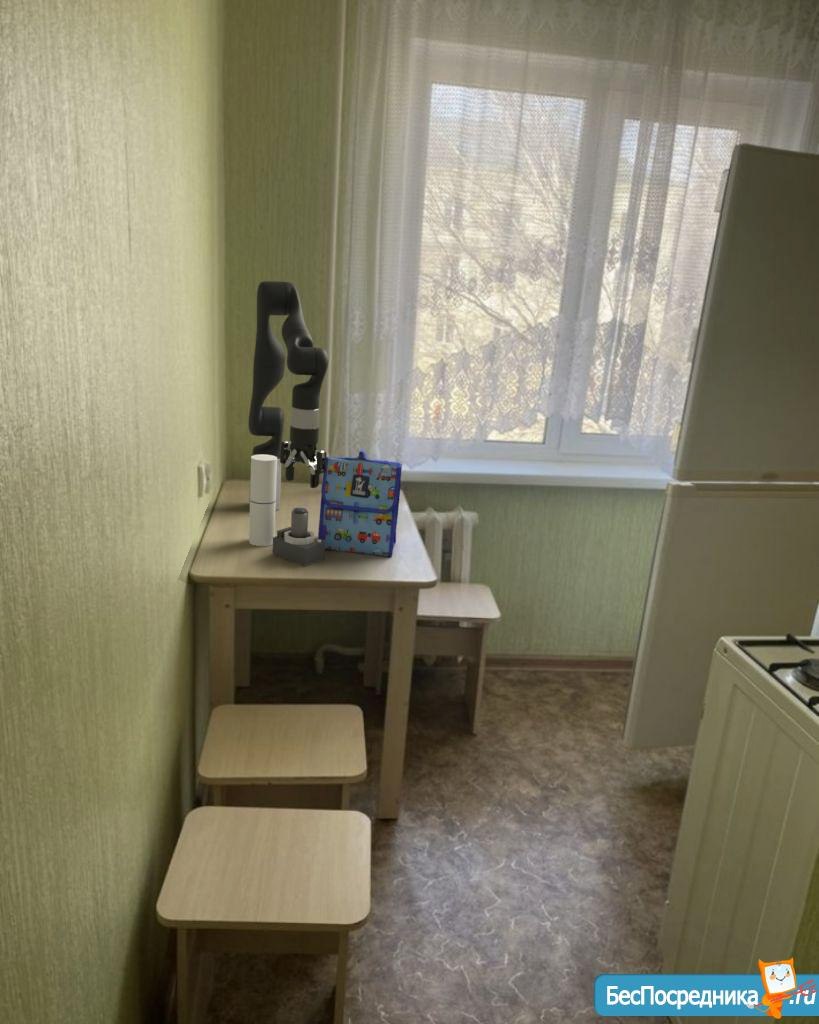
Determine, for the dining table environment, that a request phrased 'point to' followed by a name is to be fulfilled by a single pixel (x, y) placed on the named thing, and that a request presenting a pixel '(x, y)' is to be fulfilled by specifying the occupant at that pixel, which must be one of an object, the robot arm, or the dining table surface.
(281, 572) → the dining table surface
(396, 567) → the dining table surface
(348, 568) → the dining table surface
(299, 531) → the lens
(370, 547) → the lunch bag
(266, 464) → the cylindrical container
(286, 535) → the camera body
